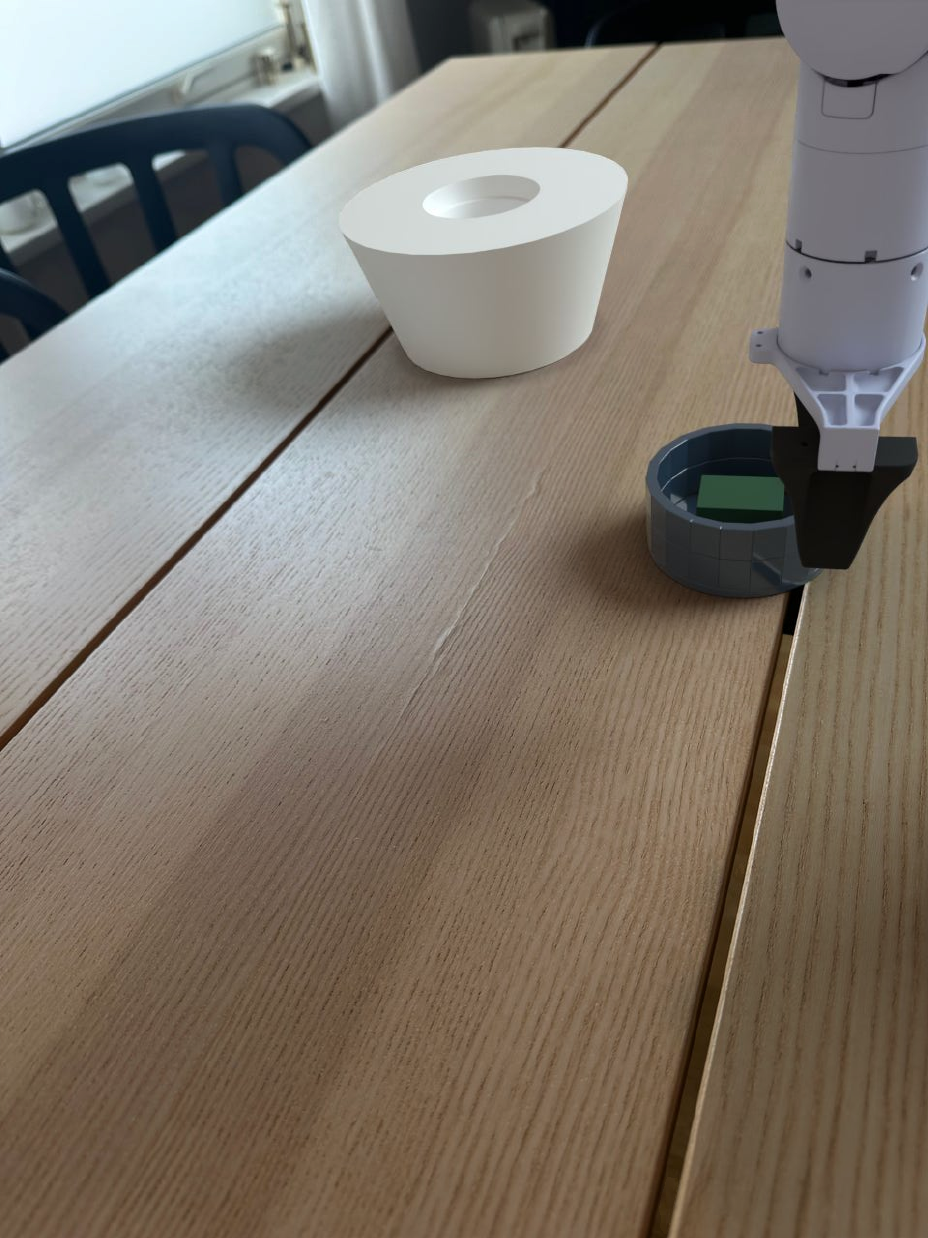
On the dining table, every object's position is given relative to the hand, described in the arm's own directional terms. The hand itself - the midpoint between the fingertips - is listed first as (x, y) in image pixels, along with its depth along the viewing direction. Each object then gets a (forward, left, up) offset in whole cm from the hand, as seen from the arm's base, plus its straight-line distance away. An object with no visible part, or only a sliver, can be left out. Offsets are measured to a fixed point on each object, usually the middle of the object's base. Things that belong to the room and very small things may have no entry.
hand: (825, 514), depth 48 cm
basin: (+4, -10, -9) cm, 14 cm away
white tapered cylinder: (+27, -39, -10) cm, 48 cm away
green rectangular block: (+4, -10, -9) cm, 14 cm away
